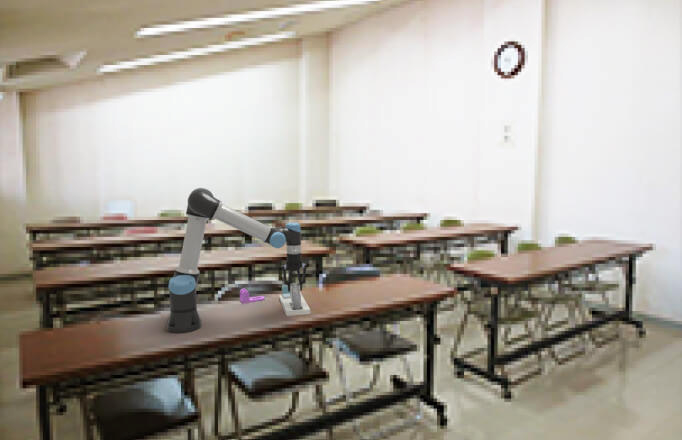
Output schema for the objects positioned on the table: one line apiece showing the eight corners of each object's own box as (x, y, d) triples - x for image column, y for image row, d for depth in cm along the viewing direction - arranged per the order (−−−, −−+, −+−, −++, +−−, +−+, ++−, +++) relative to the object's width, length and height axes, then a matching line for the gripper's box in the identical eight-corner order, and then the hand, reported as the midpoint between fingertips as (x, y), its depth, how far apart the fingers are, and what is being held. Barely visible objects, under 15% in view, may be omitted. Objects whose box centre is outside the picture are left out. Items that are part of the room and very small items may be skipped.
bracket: (242, 304, 254) (242, 291, 254) (240, 301, 259) (239, 289, 258) (266, 300, 260) (265, 288, 259) (263, 298, 265) (262, 286, 264)
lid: (283, 298, 254) (283, 289, 253) (282, 294, 261) (281, 286, 260) (300, 297, 256) (300, 288, 256) (298, 293, 263) (298, 285, 262)
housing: (286, 316, 233) (286, 298, 232) (279, 299, 262) (278, 283, 261) (310, 314, 236) (309, 296, 235) (300, 297, 265) (300, 281, 264)
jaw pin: (290, 299, 247) (290, 283, 245) (298, 299, 247) (298, 282, 246) (291, 302, 243) (291, 285, 242) (299, 301, 244) (299, 284, 242)
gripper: (278, 255, 236) (280, 300, 239) (311, 253, 240) (312, 297, 243) (276, 252, 243) (278, 296, 246) (308, 250, 247) (309, 293, 250)
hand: (295, 296), depth 245 cm, fingers closed on jaw pin, 3 cm apart
